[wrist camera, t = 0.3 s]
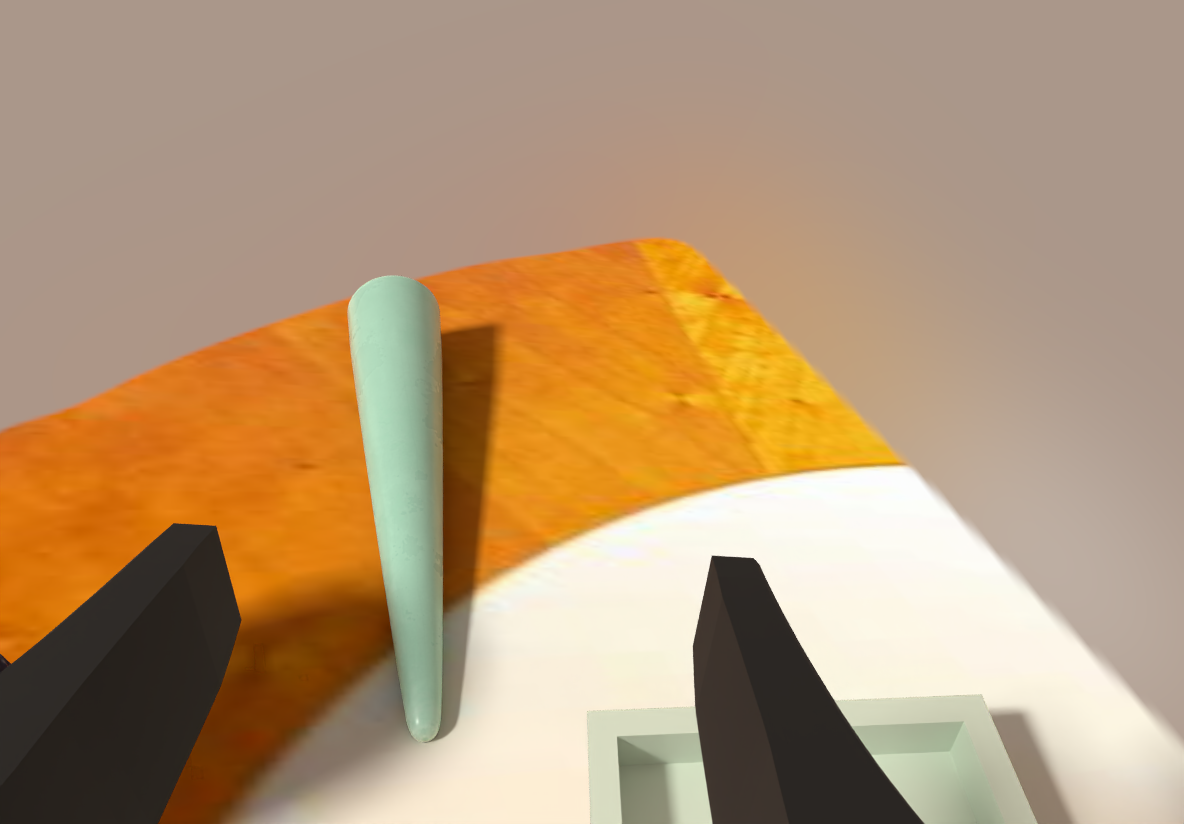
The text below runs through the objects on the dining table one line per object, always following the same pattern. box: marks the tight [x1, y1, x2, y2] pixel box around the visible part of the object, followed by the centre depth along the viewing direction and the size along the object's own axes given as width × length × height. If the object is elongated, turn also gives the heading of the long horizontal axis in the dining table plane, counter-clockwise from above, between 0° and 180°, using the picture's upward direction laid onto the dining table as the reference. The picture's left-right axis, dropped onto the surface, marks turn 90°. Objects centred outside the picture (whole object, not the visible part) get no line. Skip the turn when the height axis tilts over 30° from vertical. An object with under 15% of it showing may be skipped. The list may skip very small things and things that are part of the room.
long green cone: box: [348, 276, 443, 742], centre depth 41 cm, size 5×6×27 cm
